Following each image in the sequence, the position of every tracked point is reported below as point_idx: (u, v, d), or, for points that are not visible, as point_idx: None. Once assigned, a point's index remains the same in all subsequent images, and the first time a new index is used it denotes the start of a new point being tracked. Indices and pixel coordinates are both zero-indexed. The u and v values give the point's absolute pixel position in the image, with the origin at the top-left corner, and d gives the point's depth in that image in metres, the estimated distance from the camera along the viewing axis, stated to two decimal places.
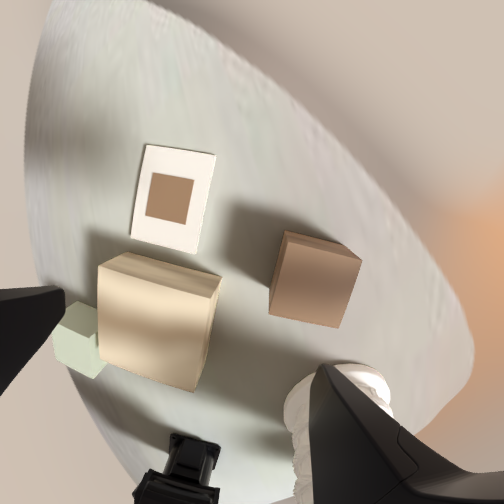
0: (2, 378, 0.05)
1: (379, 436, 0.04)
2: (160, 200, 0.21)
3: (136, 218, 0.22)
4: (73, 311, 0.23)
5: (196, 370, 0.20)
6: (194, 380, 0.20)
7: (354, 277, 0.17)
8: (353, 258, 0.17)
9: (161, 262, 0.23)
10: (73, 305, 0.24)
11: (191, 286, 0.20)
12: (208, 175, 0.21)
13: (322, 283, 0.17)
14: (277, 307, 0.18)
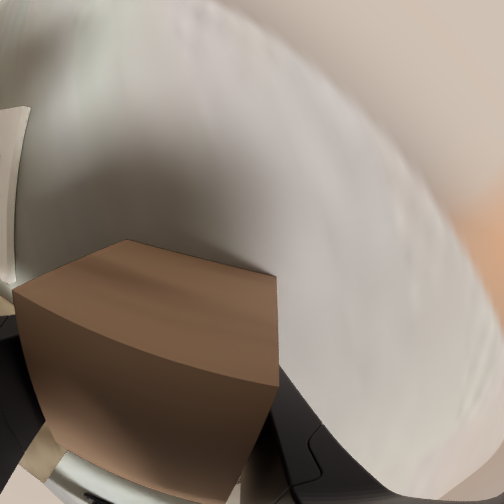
0: None
1: (287, 431, 0.04)
2: None
3: None
4: None
5: (30, 464, 0.07)
6: (35, 472, 0.07)
7: (248, 434, 0.04)
8: (237, 375, 0.04)
9: None
10: None
11: None
12: (12, 143, 0.07)
13: (135, 429, 0.04)
14: (62, 438, 0.05)
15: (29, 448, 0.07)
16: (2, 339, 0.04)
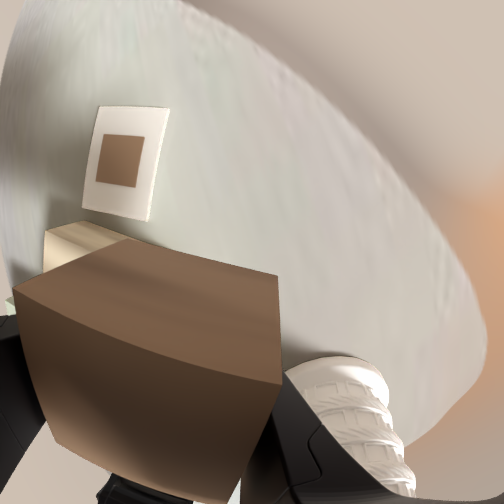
0: None
1: (286, 431, 0.04)
2: (110, 162, 0.17)
3: (87, 185, 0.18)
4: None
5: None
6: None
7: (250, 433, 0.04)
8: (240, 373, 0.04)
9: (117, 234, 0.19)
10: None
11: None
12: (159, 130, 0.17)
13: (136, 428, 0.04)
14: (63, 438, 0.05)
15: None
16: (2, 339, 0.04)
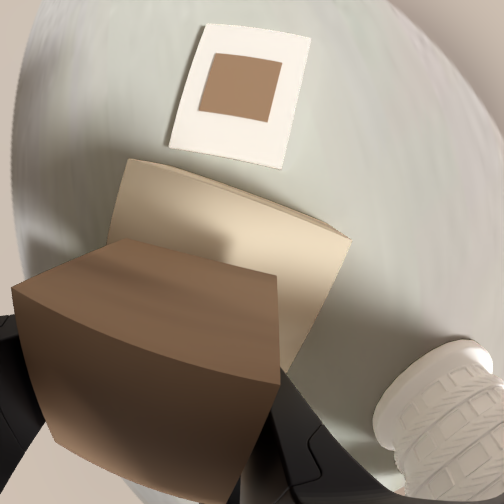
0: None
1: (286, 431, 0.04)
2: (225, 88, 0.12)
3: (182, 116, 0.13)
4: None
5: None
6: None
7: (248, 433, 0.04)
8: (237, 373, 0.04)
9: (231, 186, 0.14)
10: None
11: (306, 219, 0.11)
12: (303, 59, 0.12)
13: (135, 428, 0.04)
14: (61, 437, 0.05)
15: None
16: (2, 339, 0.04)
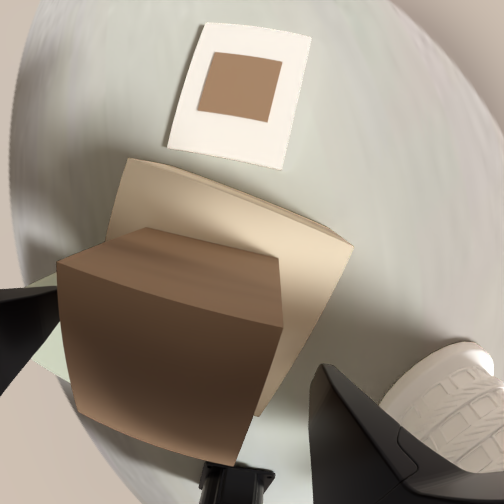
0: (2, 378, 0.05)
1: (379, 436, 0.04)
2: (225, 87, 0.12)
3: (181, 115, 0.13)
4: None
5: (280, 381, 0.11)
6: (269, 397, 0.11)
7: (258, 376, 0.05)
8: (250, 319, 0.05)
9: (232, 188, 0.14)
10: None
11: (308, 223, 0.11)
12: (303, 58, 0.12)
13: (161, 380, 0.05)
14: (86, 405, 0.06)
15: None
16: None
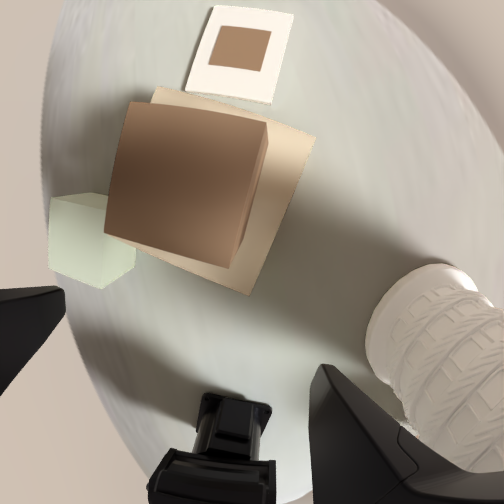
0: (2, 378, 0.05)
1: (379, 436, 0.04)
2: (229, 49, 0.15)
3: (196, 68, 0.16)
4: (85, 196, 0.17)
5: (266, 252, 0.14)
6: (257, 271, 0.15)
7: (251, 156, 0.08)
8: (248, 119, 0.08)
9: None
10: (85, 193, 0.18)
11: None
12: (287, 29, 0.14)
13: (186, 168, 0.09)
14: (114, 219, 0.09)
15: None
16: None
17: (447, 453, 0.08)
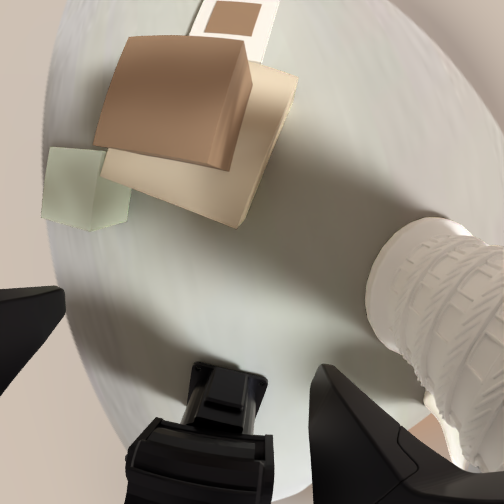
0: (2, 378, 0.05)
1: (379, 436, 0.04)
2: (223, 19, 0.15)
3: (193, 35, 0.16)
4: None
5: (253, 182, 0.14)
6: (244, 202, 0.14)
7: (230, 65, 0.08)
8: (228, 40, 0.08)
9: None
10: None
11: None
12: (276, 2, 0.14)
13: (172, 79, 0.08)
14: (104, 131, 0.09)
15: (263, 161, 0.14)
16: None
17: (472, 397, 0.07)
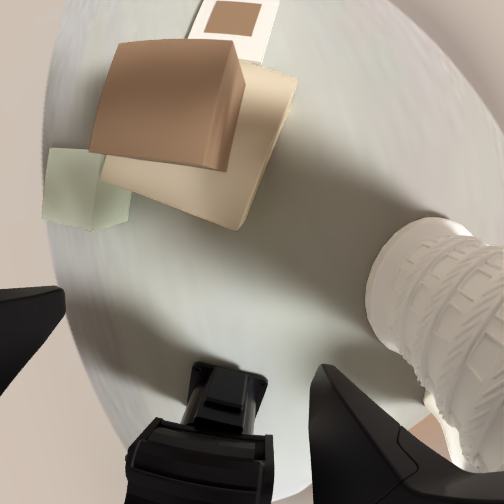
0: (2, 378, 0.05)
1: (379, 436, 0.04)
2: (223, 19, 0.15)
3: (193, 35, 0.16)
4: None
5: (252, 184, 0.14)
6: (244, 205, 0.14)
7: (220, 65, 0.08)
8: (217, 41, 0.08)
9: None
10: None
11: None
12: (276, 2, 0.14)
13: (164, 83, 0.08)
14: (99, 138, 0.09)
15: (263, 164, 0.14)
16: None
17: (472, 397, 0.07)
